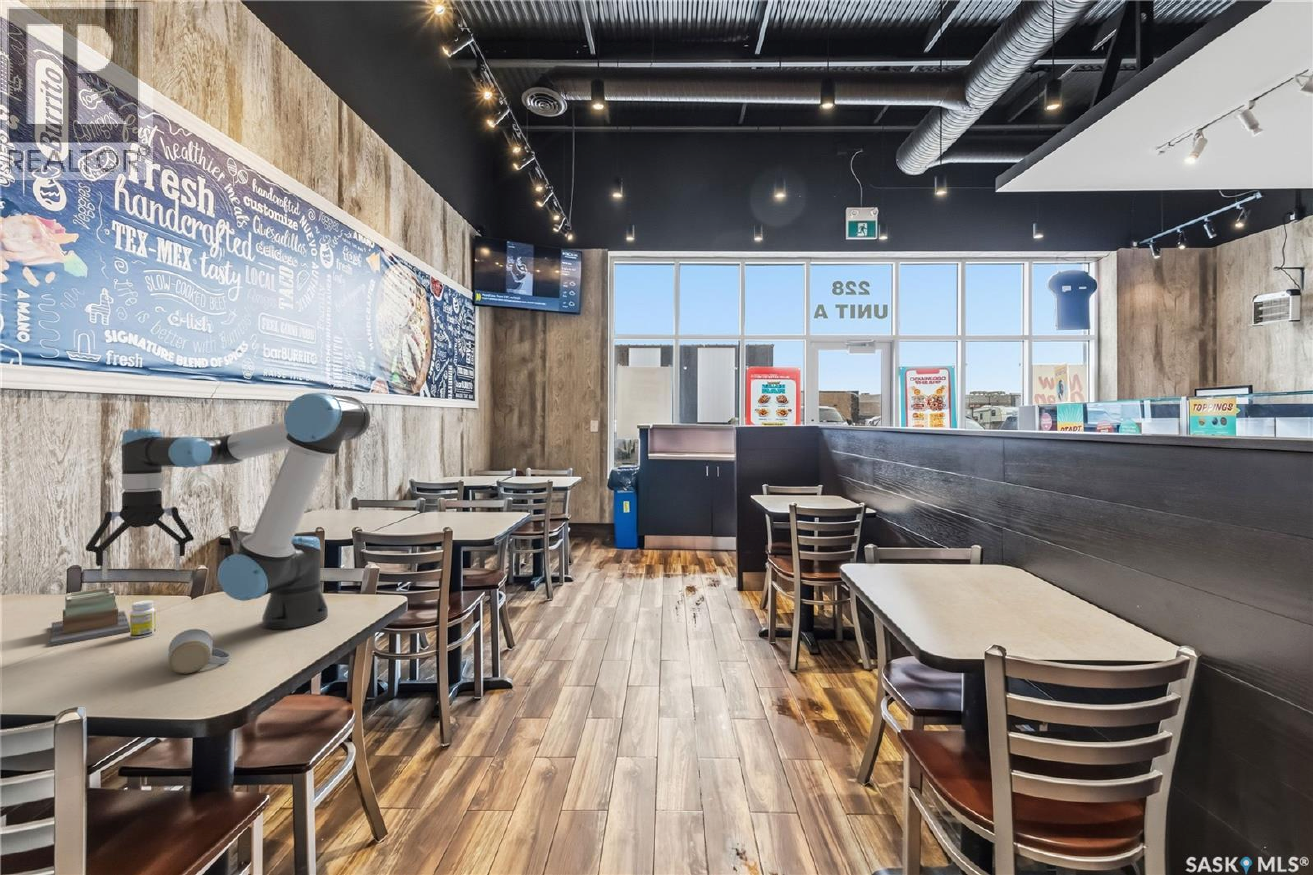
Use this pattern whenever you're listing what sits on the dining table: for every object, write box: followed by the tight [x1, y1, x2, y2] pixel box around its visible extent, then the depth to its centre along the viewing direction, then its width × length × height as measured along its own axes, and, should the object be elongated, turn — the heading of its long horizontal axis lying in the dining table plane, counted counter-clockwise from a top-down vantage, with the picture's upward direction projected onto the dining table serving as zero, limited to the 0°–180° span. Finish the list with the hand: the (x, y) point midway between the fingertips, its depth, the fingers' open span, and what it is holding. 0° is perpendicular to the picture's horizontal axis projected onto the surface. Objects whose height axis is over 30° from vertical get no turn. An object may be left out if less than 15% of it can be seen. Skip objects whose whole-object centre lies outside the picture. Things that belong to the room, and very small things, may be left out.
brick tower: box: [50, 586, 131, 647], centre depth 149 cm, size 20×14×10 cm
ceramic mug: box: [167, 628, 231, 675], centre depth 125 cm, size 11×8×8 cm
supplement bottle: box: [129, 599, 156, 639], centre depth 144 cm, size 5×5×8 cm
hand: (142, 573), depth 144 cm, fingers open, 13 cm apart
